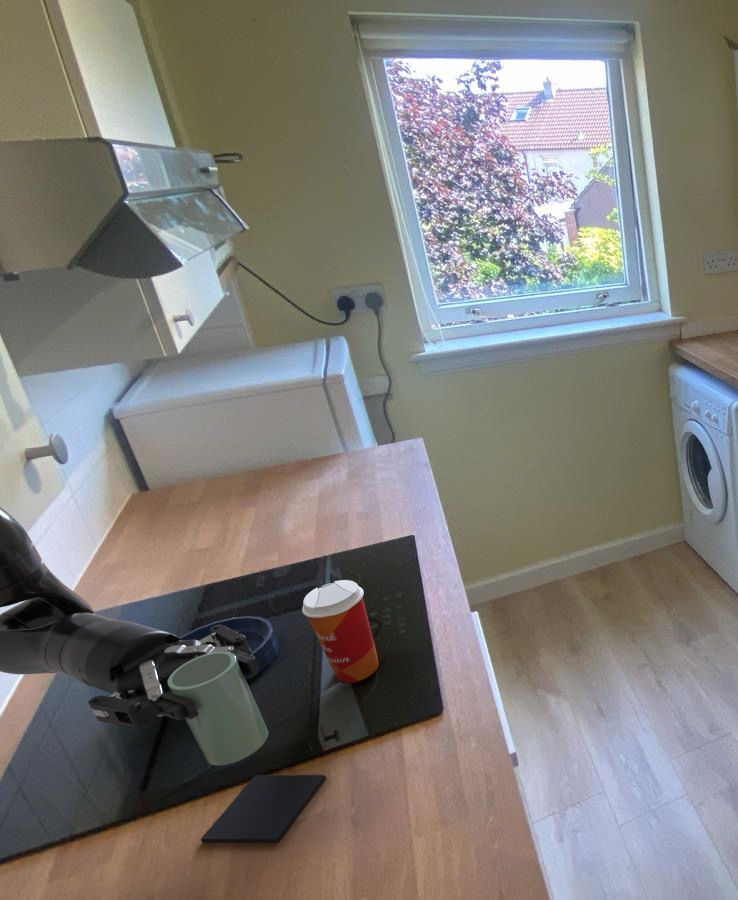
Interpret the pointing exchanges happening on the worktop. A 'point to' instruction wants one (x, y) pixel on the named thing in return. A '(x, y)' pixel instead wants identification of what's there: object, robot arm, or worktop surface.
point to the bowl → (255, 633)
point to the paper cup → (342, 629)
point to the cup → (220, 707)
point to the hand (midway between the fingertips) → (224, 688)
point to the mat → (264, 809)
